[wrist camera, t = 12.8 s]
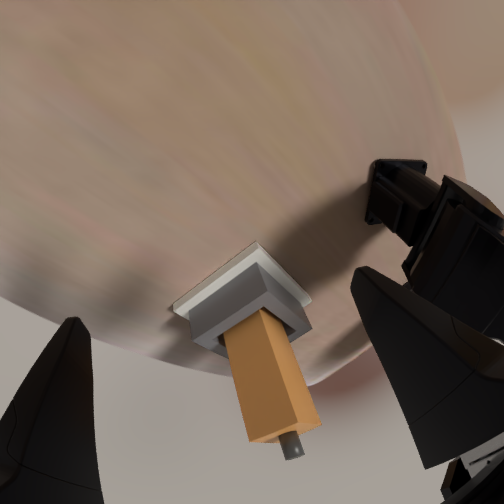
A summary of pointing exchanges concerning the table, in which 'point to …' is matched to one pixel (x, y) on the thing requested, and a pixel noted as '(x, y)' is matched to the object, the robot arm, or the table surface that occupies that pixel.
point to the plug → (270, 383)
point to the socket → (243, 299)
